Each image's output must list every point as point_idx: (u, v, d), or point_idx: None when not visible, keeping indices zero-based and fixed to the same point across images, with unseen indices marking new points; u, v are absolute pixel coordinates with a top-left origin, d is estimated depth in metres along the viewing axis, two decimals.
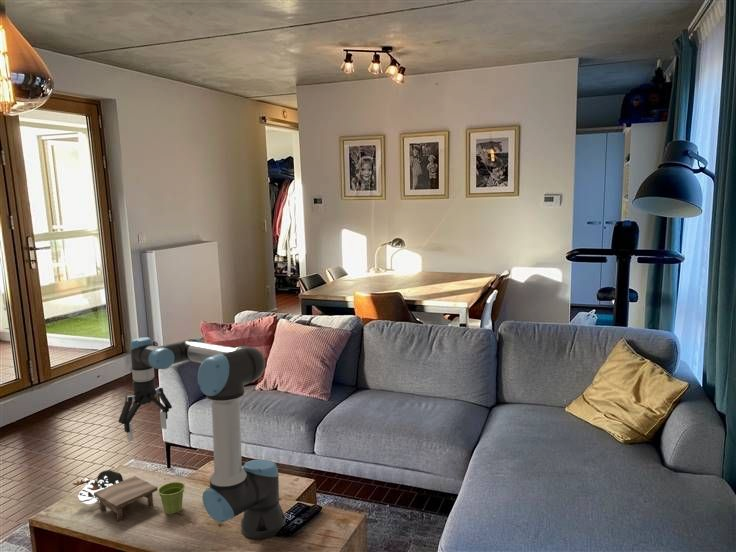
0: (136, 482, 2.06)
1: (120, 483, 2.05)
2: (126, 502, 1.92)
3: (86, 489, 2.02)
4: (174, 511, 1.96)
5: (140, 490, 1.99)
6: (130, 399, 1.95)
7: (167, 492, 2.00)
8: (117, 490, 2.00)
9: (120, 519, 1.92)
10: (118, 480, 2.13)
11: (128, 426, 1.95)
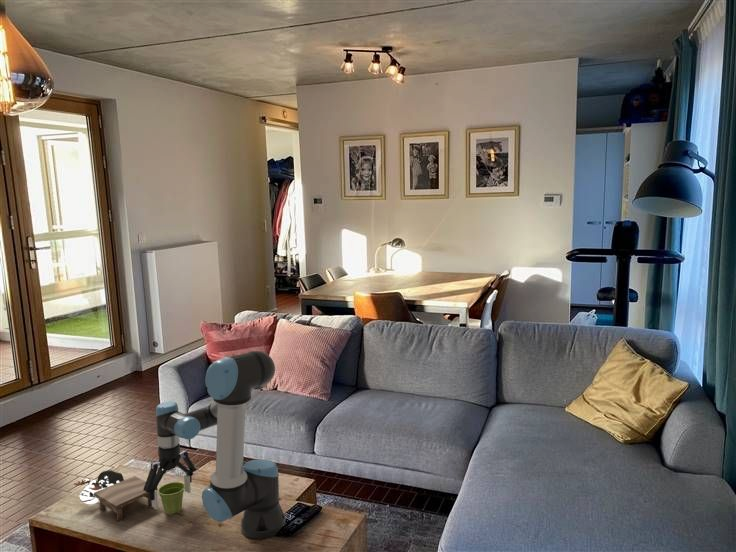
0: (136, 482, 2.06)
1: (120, 483, 2.05)
2: (126, 502, 1.92)
3: (87, 489, 2.02)
4: (174, 511, 1.96)
5: (140, 490, 1.99)
6: (155, 467, 1.91)
7: (167, 492, 2.00)
8: (117, 490, 2.00)
9: (120, 519, 1.92)
10: (119, 480, 2.13)
11: (153, 494, 1.91)
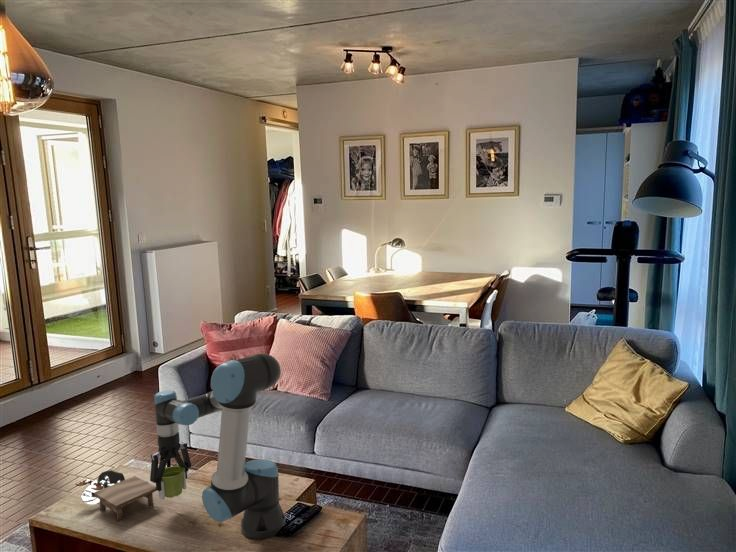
0: (136, 482, 2.06)
1: (120, 483, 2.05)
2: (126, 502, 1.92)
3: (89, 489, 2.02)
4: (174, 494, 1.94)
5: (140, 490, 1.99)
6: (156, 458, 1.90)
7: (167, 476, 1.99)
8: (117, 490, 2.00)
9: (120, 519, 1.92)
10: (120, 480, 2.13)
11: (160, 484, 1.92)
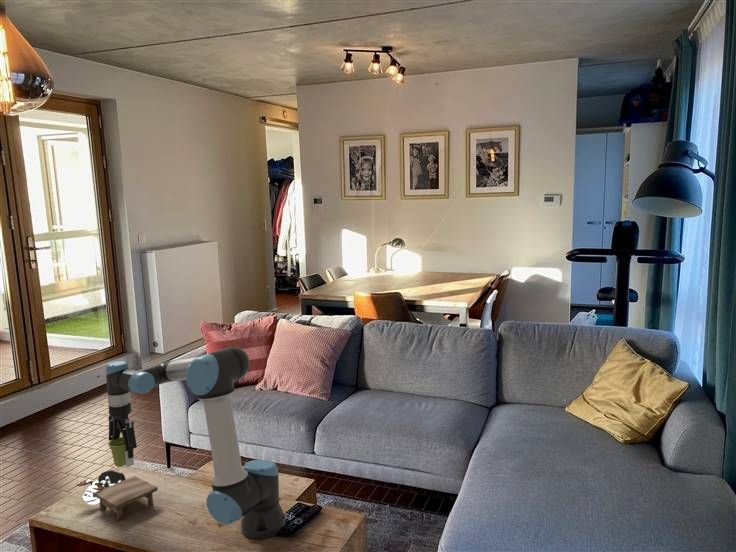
0: (136, 482, 2.06)
1: (120, 483, 2.05)
2: (126, 502, 1.92)
3: (90, 490, 2.02)
4: (114, 462, 1.97)
5: (140, 490, 1.99)
6: (109, 418, 2.00)
7: None
8: (117, 490, 2.00)
9: (120, 519, 1.92)
10: (121, 480, 2.13)
11: None
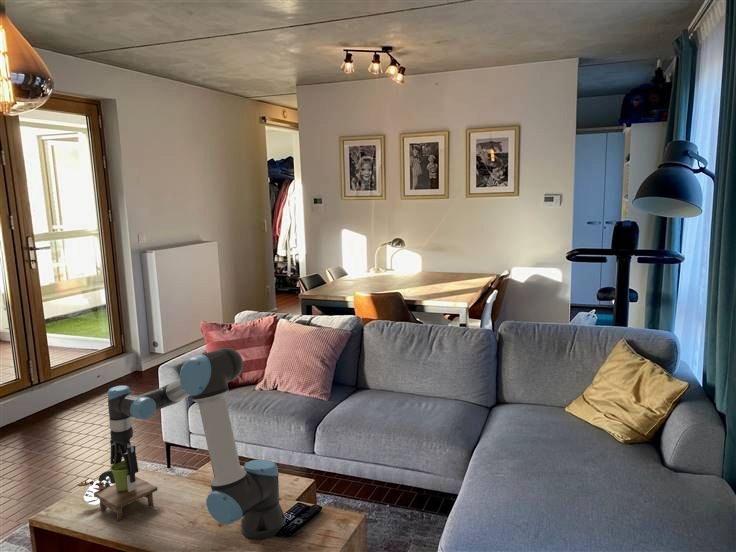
0: (136, 482, 2.06)
1: None
2: (126, 502, 1.92)
3: (92, 490, 2.02)
4: (116, 486, 1.98)
5: (140, 490, 1.99)
6: (110, 442, 2.01)
7: None
8: (117, 490, 2.00)
9: (120, 519, 1.92)
10: None
11: None
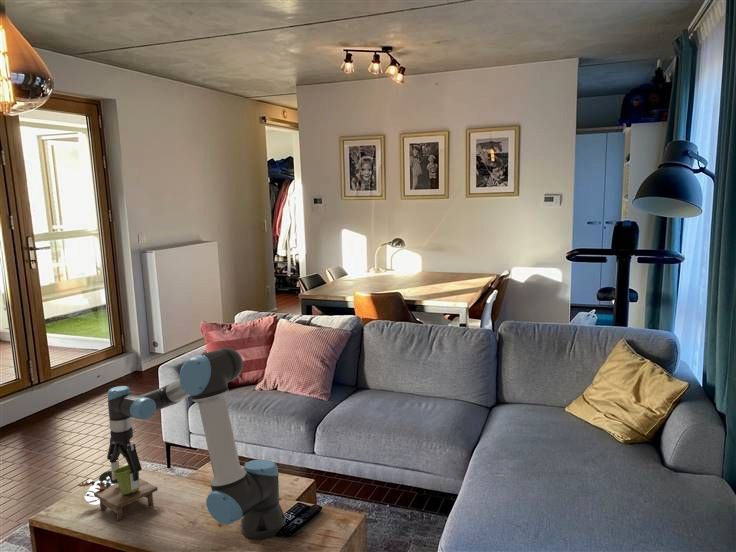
0: None
1: None
2: (126, 502, 1.92)
3: (93, 490, 2.01)
4: None
5: (140, 490, 1.99)
6: (110, 440, 2.01)
7: None
8: (117, 490, 2.00)
9: (120, 519, 1.92)
10: None
11: None
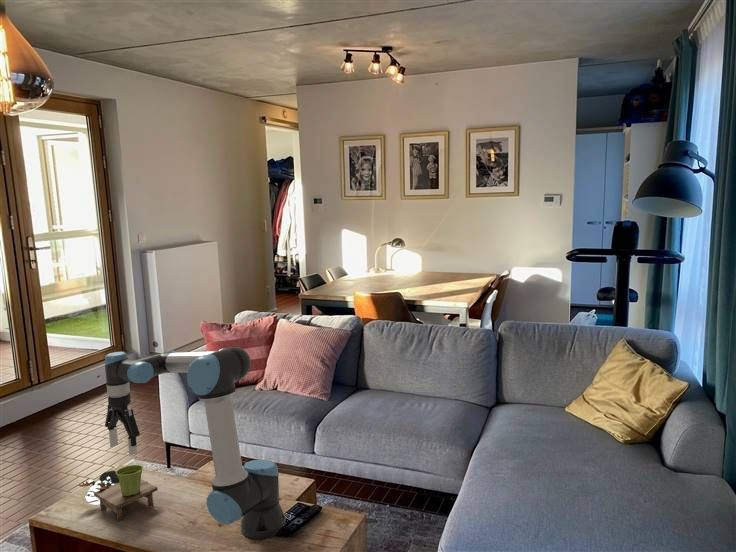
0: None
1: None
2: (126, 502, 1.92)
3: (93, 490, 2.01)
4: None
5: (140, 490, 1.99)
6: (108, 407, 2.00)
7: None
8: (117, 490, 2.00)
9: (120, 519, 1.92)
10: None
11: None
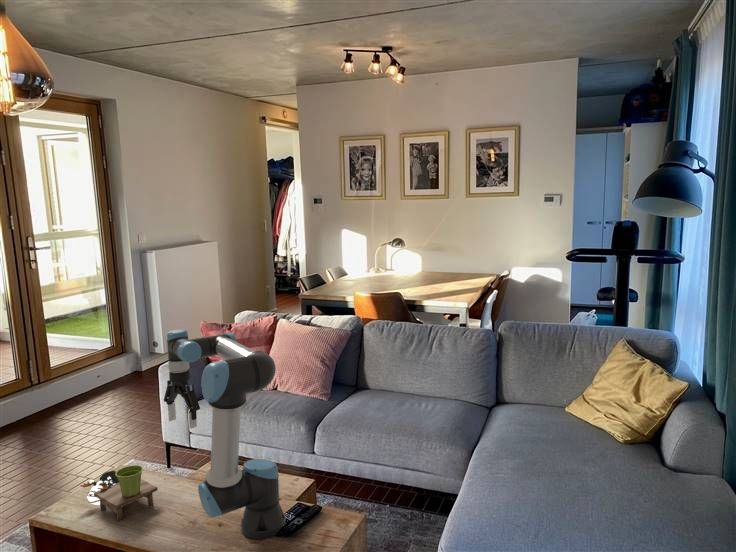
0: None
1: None
2: (126, 502, 1.92)
3: (95, 490, 2.01)
4: None
5: (140, 490, 1.99)
6: (168, 383, 2.08)
7: None
8: (117, 490, 2.00)
9: (120, 519, 1.92)
10: None
11: None
